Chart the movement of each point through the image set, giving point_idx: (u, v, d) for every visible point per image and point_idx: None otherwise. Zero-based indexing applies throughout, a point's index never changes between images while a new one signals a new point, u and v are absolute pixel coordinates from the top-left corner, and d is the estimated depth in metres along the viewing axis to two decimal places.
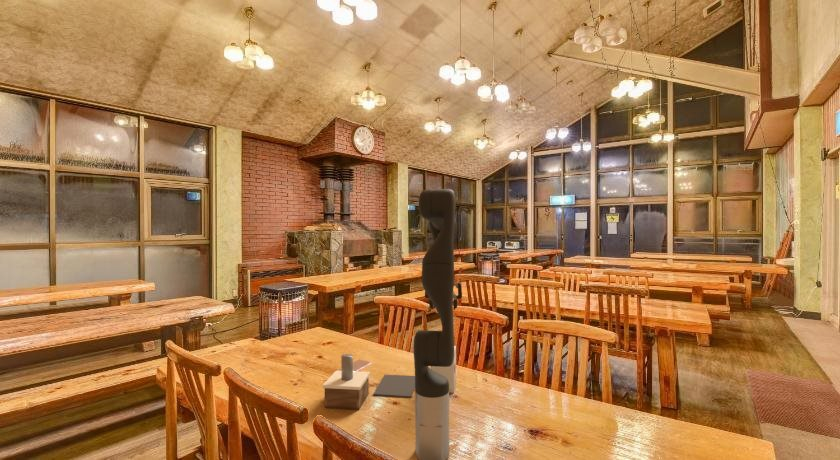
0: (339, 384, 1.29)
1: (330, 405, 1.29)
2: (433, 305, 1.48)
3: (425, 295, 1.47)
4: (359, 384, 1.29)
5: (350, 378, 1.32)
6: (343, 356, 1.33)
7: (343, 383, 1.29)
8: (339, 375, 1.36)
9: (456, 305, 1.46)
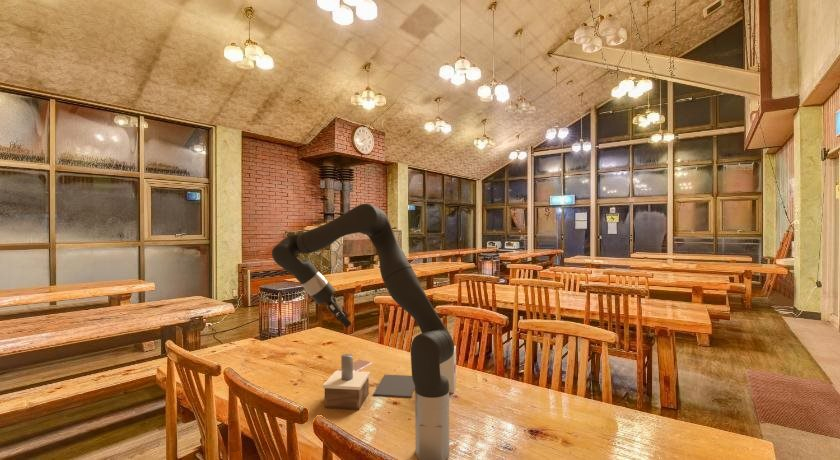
0: (339, 384, 1.29)
1: (330, 405, 1.29)
2: None
3: (342, 314, 1.26)
4: (359, 384, 1.29)
5: (350, 378, 1.32)
6: (343, 356, 1.33)
7: (343, 383, 1.29)
8: (339, 375, 1.36)
9: (344, 312, 1.38)
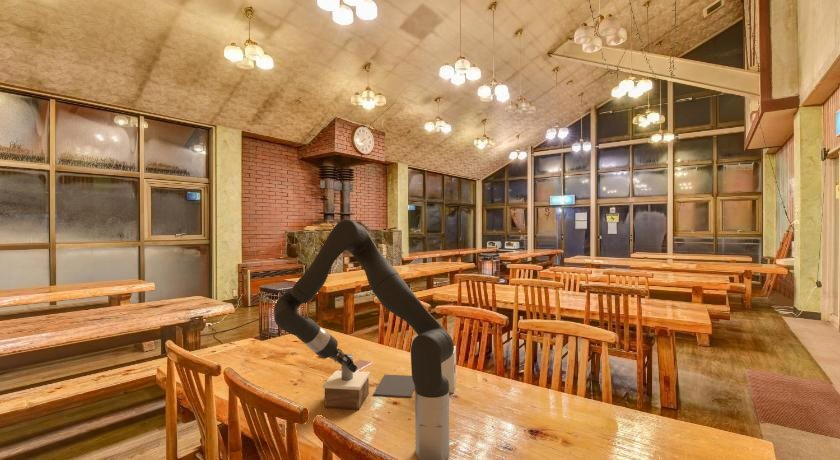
0: (339, 384, 1.29)
1: (330, 405, 1.29)
2: None
3: (352, 361, 1.30)
4: (359, 384, 1.29)
5: (350, 378, 1.32)
6: None
7: (343, 383, 1.29)
8: (339, 375, 1.36)
9: None
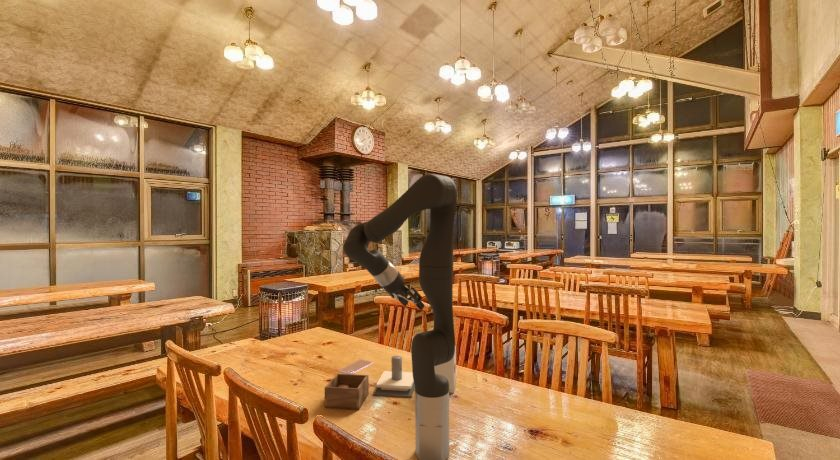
0: (391, 383, 1.40)
1: (330, 405, 1.29)
2: None
3: None
4: (409, 383, 1.40)
5: (400, 378, 1.44)
6: (393, 358, 1.45)
7: (394, 383, 1.41)
8: (388, 375, 1.48)
9: None
